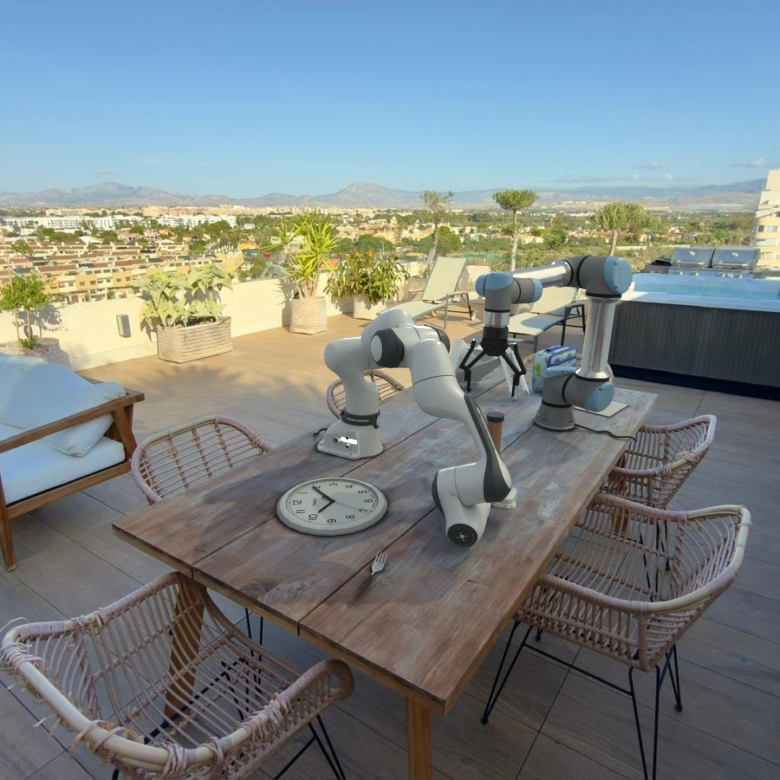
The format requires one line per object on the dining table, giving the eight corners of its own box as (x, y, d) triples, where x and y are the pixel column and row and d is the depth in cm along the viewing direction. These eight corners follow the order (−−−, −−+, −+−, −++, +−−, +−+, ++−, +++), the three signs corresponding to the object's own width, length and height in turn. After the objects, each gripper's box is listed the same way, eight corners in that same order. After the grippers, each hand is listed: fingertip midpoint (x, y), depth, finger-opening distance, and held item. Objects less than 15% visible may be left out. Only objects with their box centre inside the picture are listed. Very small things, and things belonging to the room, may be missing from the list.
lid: (487, 415, 165) (487, 410, 164) (504, 417, 163) (505, 412, 163) (485, 421, 160) (485, 416, 159) (503, 423, 159) (503, 418, 158)
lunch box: (548, 398, 236) (553, 353, 229) (527, 393, 243) (531, 349, 237) (575, 387, 253) (581, 344, 247) (555, 382, 260) (560, 341, 254)
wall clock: (392, 527, 129) (268, 531, 127) (391, 533, 130) (269, 537, 127) (383, 473, 158) (282, 475, 155) (383, 478, 158) (282, 480, 156)
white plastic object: (461, 429, 252) (437, 405, 227) (444, 352, 274) (420, 323, 250) (535, 404, 240) (518, 377, 215) (510, 326, 262) (492, 293, 237)
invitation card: (608, 416, 214) (573, 407, 224) (608, 416, 214) (573, 408, 224) (628, 404, 229) (594, 396, 238) (628, 405, 229) (594, 397, 238)
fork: (349, 601, 106) (348, 593, 105) (377, 557, 120) (377, 550, 120) (360, 605, 105) (360, 596, 105) (388, 560, 119) (388, 552, 119)
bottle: (484, 464, 169) (488, 412, 164) (499, 466, 168) (503, 414, 163) (483, 470, 165) (487, 417, 160) (497, 472, 164) (502, 419, 159)
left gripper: (516, 499, 129) (521, 475, 142) (435, 485, 135) (446, 463, 148) (514, 521, 131) (518, 495, 143) (434, 507, 137) (445, 483, 149)
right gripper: (539, 326, 155) (532, 394, 162) (456, 320, 162) (452, 386, 168) (539, 330, 149) (531, 401, 155) (452, 324, 155) (448, 392, 162)
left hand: (481, 479), depth 146 cm, fingers open, 8 cm apart
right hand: (490, 393), depth 162 cm, fingers open, 13 cm apart
